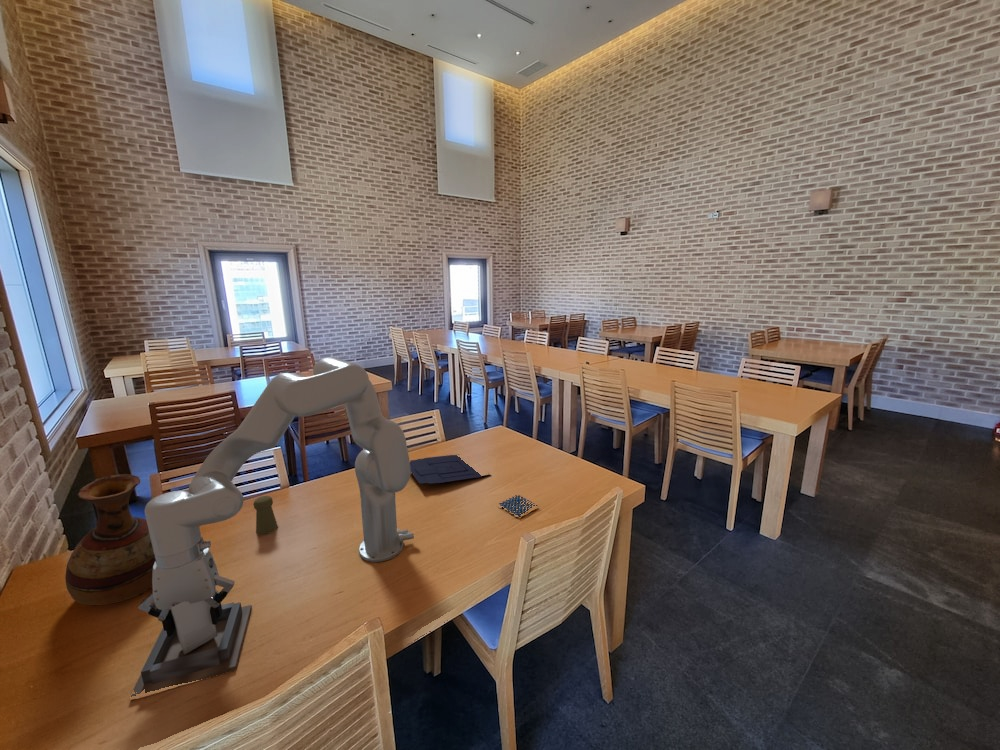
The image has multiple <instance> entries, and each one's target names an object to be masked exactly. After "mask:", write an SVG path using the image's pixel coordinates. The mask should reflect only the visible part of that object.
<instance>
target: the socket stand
mask: <svg viewBox="0 0 1000 750" xmlns="http://www.w3.org/2000/svg"><path fill="white" fill-rule="evenodd" d="M221 606H222V616H221V617H219V619H218V622H217V624H215V627H216V631H217V636H216V637H215V638H213V639H211V640H209V641H208V642H206V643H204V644H202V645H201V646H199V647H197V648H195V649H194V650H192V651H190V652H188V653H187V654H184V652H183V649H182V647H181V645H180V642H179V639H178V635H177V631H176V628H175V630H174V633H173V635H171V636H169V637H168V636H167V632H166V631H164V629H163V628H161V631H160V633H159V635H158V636H157V639H156V641H155V642H154V645H153V647H152V650H151V651H150V653H149V655H148V657H147V659H146V661H145V663H144V665H143V667H142V669H141V671H140V675H139V677H138V679H137V681H136V682H135V685H134V687H133V689H132V691H133V690H134V692H135V694H132V695H131V694H130V695H131V697H132V696H136V694H140V693H141V692H142V691H143V690H144V689H145V693H147V692H150V691H155V690H159V689H161V688H165V687H169V686H173V685H178V684H182V683H188V682H192V681H196V680H201V679H204V680H207V679H206V678H208V679H210V678H209V677H211V678H214V677H217V676H216V675H218V676H220V674H221V675H223V673H224V674H228V673H231V672H234V671H237V668H238V665H239V664H238V663H239V660H240V656H241V651H242V648H243V644H244V641H245V637H246V636H245V635H246V633H247V629H248V624H249V621H250V616H251V614H252V613H251V612H252V610H253V606H252V604H249V605H244V606H242V602H241V601H239V602H235V603H234V602H232V601H231V602H229V603H225V604H221ZM230 671H231V672H230ZM227 672H228V673H227ZM213 676H214V677H213ZM201 681H202V680H201ZM136 692H137V693H136Z"/></svg>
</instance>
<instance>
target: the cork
mask: <svg viewBox="0 0 1000 750" xmlns="http://www.w3.org/2000/svg"><path fill="white" fill-rule="evenodd" d="M273 504H274V502H273V498H272V497H271V496H270V495H262V496H259V497H257V498H255V500H254V501H253V508H254V509H255V511H256V513H255V514H256V516H255V518H256V519H255V521H256V522H255V524H256V525H255V533H256V534H257V535H258V536H266V535H268V534H271V533H274V532H275V531H276V530H277V529H278V528H279V526H278V523H277V520H276V517H275V513H274V510H273V507H272V506H273Z"/></svg>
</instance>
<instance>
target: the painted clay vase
mask: <svg viewBox="0 0 1000 750" xmlns="http://www.w3.org/2000/svg"><path fill="white" fill-rule="evenodd" d="M140 484H141V479H140V477H139V476H137V475H134V474H133V475H132V474H127V473H123V474H121V473H117V474H115V475H107V476H106V475H105V476H104V477H100V478H96V479H94V481H92V482H90V483H88V484H86V485H84V486H83V487H82V488H80V489H79V492H78V493H77V496H78V498H79V499H80V500H82V501H85V502H89V503H92V507H93V511H94V515H95V518H96V523H95V524H96V525H95V527H94V528H92V529H91V530H90V531H88V532H87V534H85V535H84V536H83V537H82V539H81V540H80V541H79V542H78V543H77V544H76V545H75V548H74V549H73V550H72V552H71V554H70V556H69V559H68V561H67V565H66V569H65V577H64V578H65V579H64V580H65V585H66V589H67V592H68V594H69V595H70V597H71V598H72V600H74V601H75V602H77V603H78V604H81V605H88V606H89V605H90V606H91V605H92V606H98V605H99V606H100V605H101V606H102V605H109V604H113V603H119V602H123V601H126V600H129V599H132V598H135V597H137V596H139V595H141V594H143V593H144V592H147V591H148V590H150V589H151V588H152V573H153V565H154V563H155V556H154V552H153V547H152V543H151V538H150V534H149V530H148V525H147V521H146V518H143V517H137V516H133V515H132V513H131V511H130V506H129V502H130V497H131V495H132V492H133V490H135V488H136V487H137V486H138V485H140Z"/></svg>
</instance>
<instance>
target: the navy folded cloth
mask: <svg viewBox="0 0 1000 750" xmlns="http://www.w3.org/2000/svg"><path fill="white" fill-rule="evenodd" d="M457 455H458V454H448V455H441V456H438V455H437V456H432V457H431V456H430V457H424V458H417V459H411V460H410V459H409V461H410V467H411V474H412V475H413V477H414V478H415V479H416V481H418V483H419V484H429V485H431V484H440V483H448V482H455V481H461V480H467V479H468V480H469V479H475V478H483V477H482V476H481V475H480V474H479V473H478V472H476V471H475V470H474V469H473V468H472V467H470V466H469V465H468V464H466V463H465V462H464V461H463V460H461V458H460V457H458V456H457Z"/></svg>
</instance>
